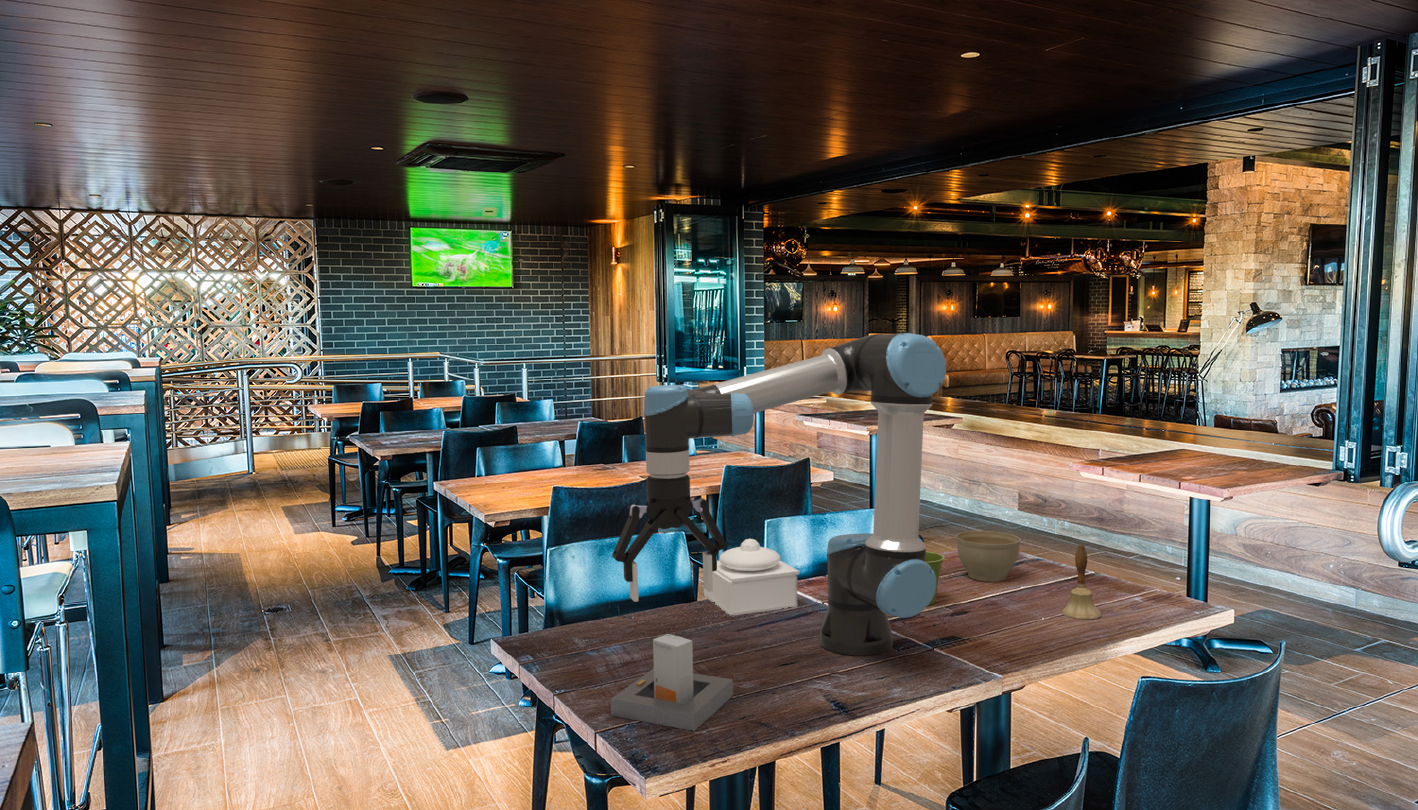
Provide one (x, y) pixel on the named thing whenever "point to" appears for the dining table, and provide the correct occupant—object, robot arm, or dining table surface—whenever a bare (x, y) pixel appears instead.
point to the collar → (689, 716)
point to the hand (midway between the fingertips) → (671, 594)
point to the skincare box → (673, 668)
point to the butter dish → (752, 580)
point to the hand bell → (1081, 592)
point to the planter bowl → (987, 554)
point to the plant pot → (934, 567)
